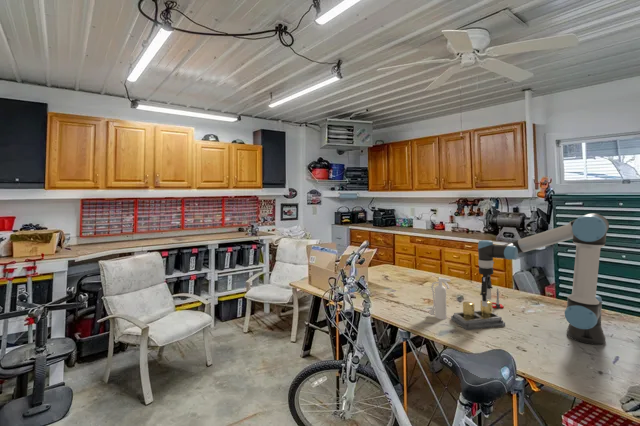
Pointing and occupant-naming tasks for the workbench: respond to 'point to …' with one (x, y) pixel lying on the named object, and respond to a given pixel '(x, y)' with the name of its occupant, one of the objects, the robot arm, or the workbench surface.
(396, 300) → the workbench surface
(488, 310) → the sleeve
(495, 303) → the tow hook
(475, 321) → the housing
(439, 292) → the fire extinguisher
